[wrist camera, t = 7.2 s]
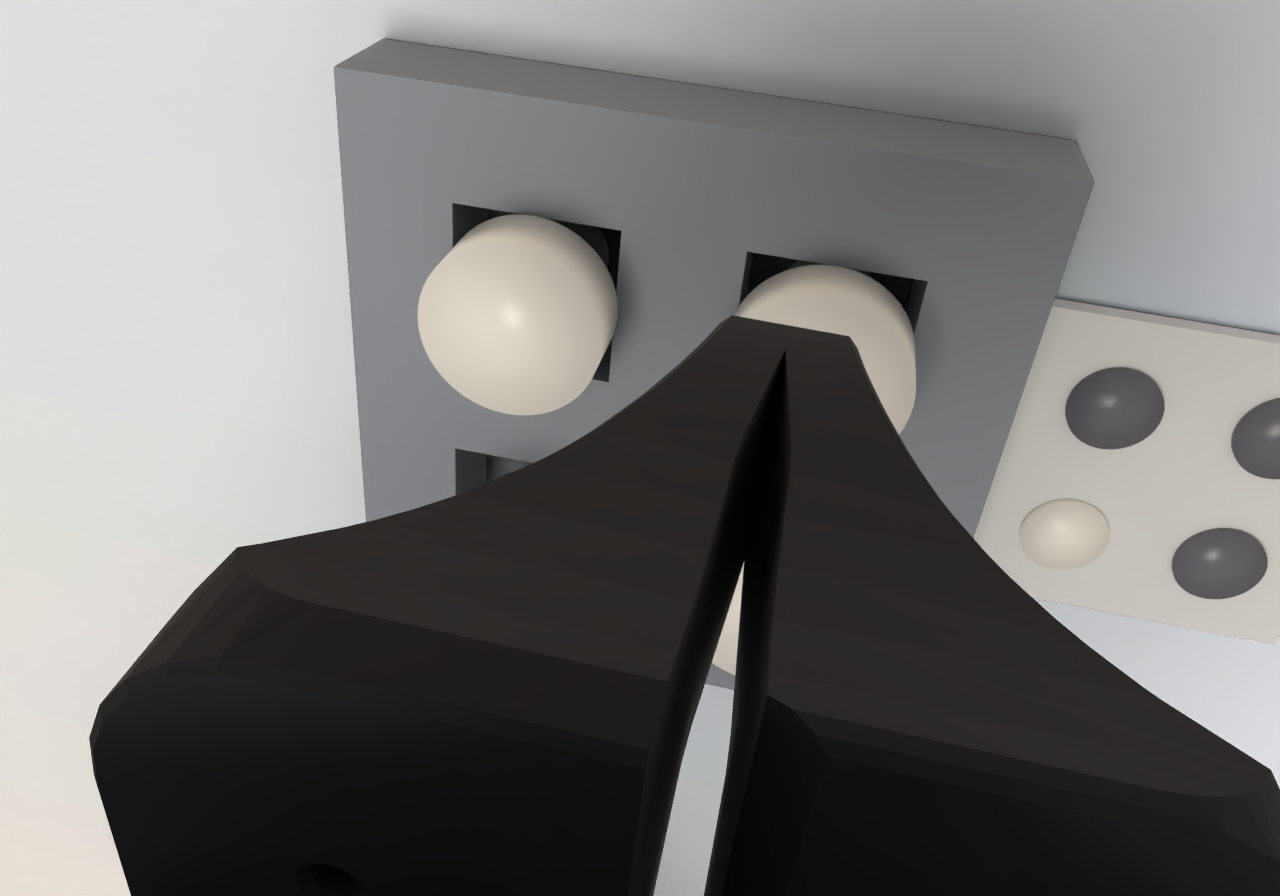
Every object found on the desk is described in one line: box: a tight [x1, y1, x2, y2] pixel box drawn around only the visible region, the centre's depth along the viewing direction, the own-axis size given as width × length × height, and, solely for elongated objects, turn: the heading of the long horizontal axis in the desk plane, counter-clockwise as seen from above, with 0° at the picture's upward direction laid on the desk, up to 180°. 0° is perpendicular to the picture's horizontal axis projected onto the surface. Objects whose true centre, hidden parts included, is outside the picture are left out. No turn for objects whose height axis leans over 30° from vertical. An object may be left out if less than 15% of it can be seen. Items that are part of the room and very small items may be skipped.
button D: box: [734, 260, 916, 434], centre depth 20 cm, size 3×3×4 cm
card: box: [974, 298, 1280, 645], centre depth 22 cm, size 7×7×1 cm
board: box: [334, 39, 1094, 690], centre depth 23 cm, size 13×13×2 cm
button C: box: [417, 214, 618, 415], centre depth 21 cm, size 3×3×4 cm
